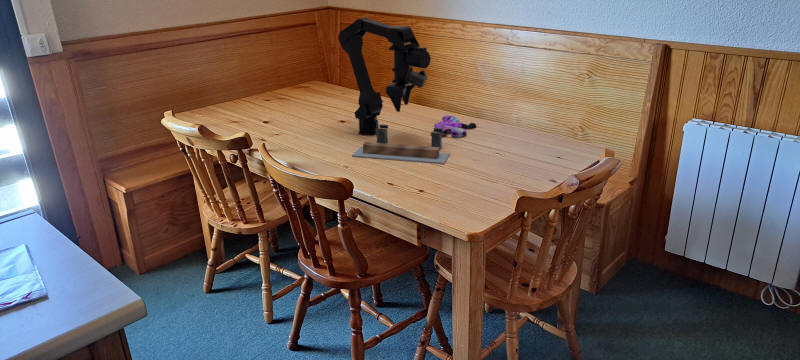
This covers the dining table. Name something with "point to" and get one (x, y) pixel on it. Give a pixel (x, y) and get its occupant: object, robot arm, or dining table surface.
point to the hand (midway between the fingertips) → (402, 108)
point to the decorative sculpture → (453, 126)
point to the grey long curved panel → (402, 157)
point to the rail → (401, 150)
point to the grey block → (437, 137)
